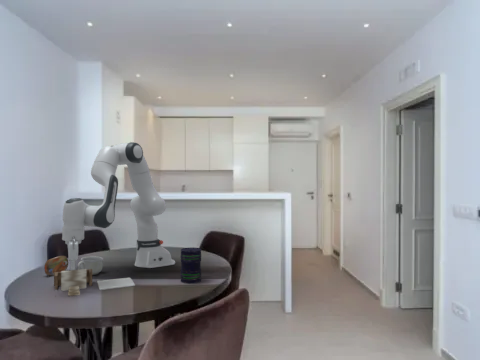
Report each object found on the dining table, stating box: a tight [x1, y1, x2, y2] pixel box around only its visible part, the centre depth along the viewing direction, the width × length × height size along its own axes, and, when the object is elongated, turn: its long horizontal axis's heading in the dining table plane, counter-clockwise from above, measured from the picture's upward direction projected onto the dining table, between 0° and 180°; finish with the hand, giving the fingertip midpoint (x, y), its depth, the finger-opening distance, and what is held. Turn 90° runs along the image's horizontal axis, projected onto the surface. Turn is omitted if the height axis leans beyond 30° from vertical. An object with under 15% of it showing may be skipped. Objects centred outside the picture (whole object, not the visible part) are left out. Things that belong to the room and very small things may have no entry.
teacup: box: [77, 255, 104, 276], centre depth 184 cm, size 14×11×8 cm
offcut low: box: [67, 290, 81, 297], centre depth 152 cm, size 4×4×1 cm
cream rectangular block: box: [60, 269, 87, 292], centre depth 160 cm, size 10×2×8 cm, turn 116°
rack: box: [53, 269, 93, 291], centre depth 164 cm, size 16×7×6 cm, turn 116°
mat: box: [96, 277, 136, 291], centre depth 167 cm, size 15×14×1 cm
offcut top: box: [69, 286, 80, 292], centre depth 152 cm, size 4×3×1 cm
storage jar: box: [179, 247, 202, 284], centre depth 173 cm, size 10×10×15 cm
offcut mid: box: [67, 290, 80, 295], centre depth 152 cm, size 4×3×1 cm
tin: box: [43, 255, 69, 277], centre depth 186 cm, size 15×3×8 cm, turn 168°
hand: (72, 267), depth 160 cm, fingers open, 8 cm apart
